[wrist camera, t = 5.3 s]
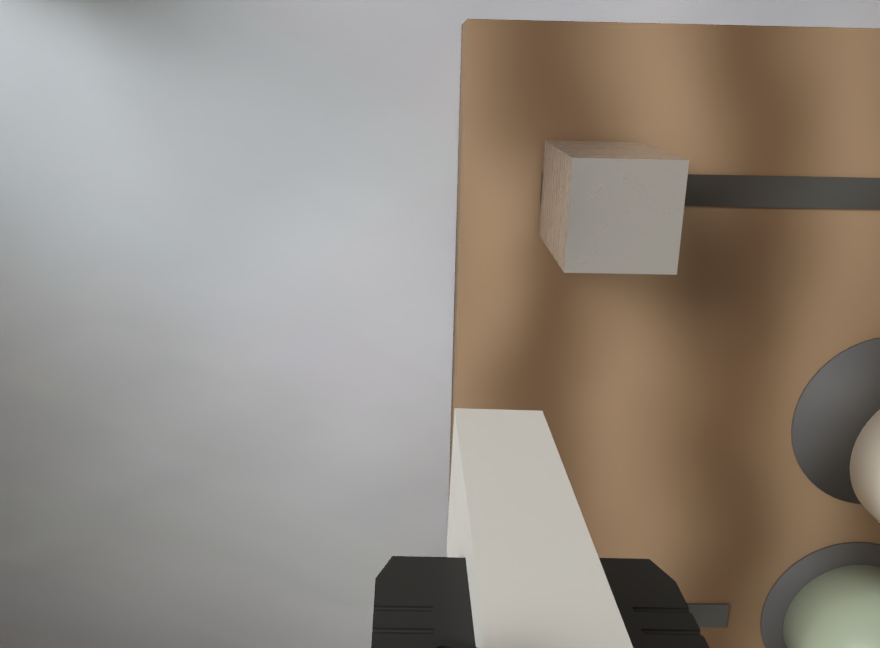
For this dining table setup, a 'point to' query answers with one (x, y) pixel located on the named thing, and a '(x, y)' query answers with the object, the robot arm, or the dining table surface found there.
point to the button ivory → (867, 466)
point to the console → (687, 296)
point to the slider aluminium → (612, 206)
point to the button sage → (836, 610)
